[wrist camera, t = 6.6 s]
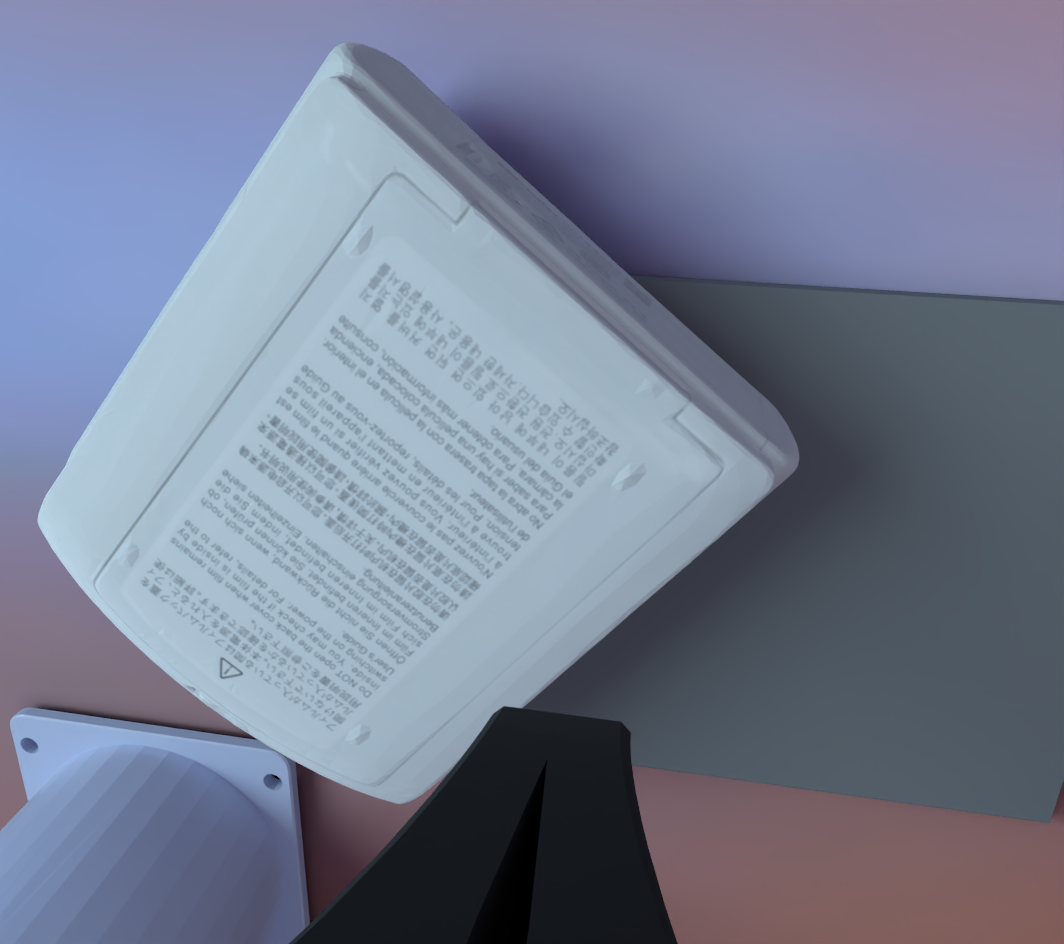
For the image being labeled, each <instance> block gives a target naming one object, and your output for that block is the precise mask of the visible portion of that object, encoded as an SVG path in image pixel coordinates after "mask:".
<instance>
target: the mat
mask: <svg viewBox="0 0 1064 944" xmlns="http://www.w3.org/2000/svg"><path fill="white" fill-rule="evenodd" d="M630 276H631V277H632V278H633V279H634V280H635V281H636V282H637V283H639V284H640V285H641V286H642V287H643V288H644V289H645V290H646V291H647V292H649V293H650V294H651V295H652V296H653V297H654V298H655V299H656V300H657V301H658V302H660V303H661V304H662V305H663V306H664V307H665V308H666V309H667V310H668V311H670V312H671V313H672V314H673V315H674V316H675V317H676V318H677V319H678V320H680V321H681V322H682V323H683V324H684V325H685V326H686V327H687V328H688V329H690V330H691V331H692V332H693V333H694V334H695V335H696V336H697V337H698V338H700V339H701V340H702V341H703V342H704V343H705V344H706V345H707V346H708V347H709V348H711V349H712V350H713V351H714V352H715V353H716V354H717V355H718V356H719V357H721V358H722V359H723V360H724V361H725V362H726V363H727V364H728V365H729V366H731V367H732V368H733V369H734V370H735V371H736V372H737V373H738V374H739V375H741V376H742V377H743V378H744V379H745V380H746V381H747V382H748V383H749V384H751V385H752V386H753V387H754V388H755V389H756V390H757V391H758V392H760V393H761V394H762V395H763V396H764V397H765V398H766V399H767V400H768V401H769V402H770V403H771V404H772V405H773V406H774V407H775V408H776V409H777V410H778V412H779V413H780V414H781V416H782V417H783V419H784V420H785V422H786V423H787V425H788V427H789V429H790V431H791V433H792V435H793V437H794V439H795V441H796V444H797V446H798V451H799V463H798V467H797V468H796V470H795V471H794V472H793V473H792V474H791V475H790V476H789V477H788V478H787V479H786V480H784V481H783V482H782V483H781V484H780V485H779V486H778V487H776V488H775V489H774V490H773V491H772V492H771V493H770V494H768V495H767V496H766V497H765V498H764V499H763V500H762V501H760V502H759V503H758V504H757V505H756V506H755V507H754V508H752V509H751V510H750V511H749V512H748V513H747V514H746V515H744V516H743V517H742V518H741V519H740V520H739V521H738V522H736V523H735V524H734V525H733V526H732V527H731V528H730V529H728V530H727V531H726V532H725V533H724V534H723V535H722V536H720V537H719V538H718V539H717V540H716V541H715V542H714V543H712V544H711V545H710V546H709V547H708V548H707V549H705V550H704V551H703V552H702V553H701V554H700V555H699V556H697V557H696V558H695V559H694V560H693V561H692V562H691V563H690V564H688V565H687V566H686V567H685V568H684V569H682V570H681V571H680V572H679V573H678V574H677V575H675V576H674V577H673V578H672V579H671V580H670V581H668V582H667V583H666V584H665V585H664V586H663V587H661V588H660V589H659V590H658V591H657V592H656V593H655V594H653V595H652V596H651V597H650V598H649V599H648V600H646V601H645V602H644V603H643V604H642V605H641V606H639V607H638V608H637V609H636V610H635V611H634V612H633V613H631V614H630V615H629V616H628V617H627V618H626V619H624V620H623V621H622V622H621V623H620V624H619V625H618V626H617V627H615V628H614V629H613V630H612V631H611V632H610V633H609V634H607V635H606V636H605V637H604V638H603V639H602V640H601V641H599V642H598V643H597V644H596V645H595V646H594V647H592V648H591V649H590V650H589V651H588V652H586V653H585V654H584V655H583V656H582V657H581V658H579V659H578V660H577V661H576V662H575V663H574V664H573V665H572V666H570V667H569V668H568V669H567V670H566V671H564V672H563V673H562V674H561V675H560V676H559V677H558V678H556V679H555V680H554V681H553V682H552V683H551V684H550V685H549V686H547V687H546V688H545V689H544V690H543V691H542V692H541V693H539V694H538V695H537V696H536V697H535V698H534V699H532V700H531V701H530V702H529V703H528V704H527V705H525V706H524V707H523V709H530V710H538V711H545V712H553V713H560V714H568V715H576V716H583V717H591V718H598V719H606V720H613V721H621V722H622V723H623V724H624V725H625V726H626V728H627V729H628V730H629V731H630V732H631V739H630V748H631V763H632V765H635V766H642V767H650V768H657V769H664V770H671V771H678V772H686V773H693V774H700V775H707V776H714V777H722V778H729V779H736V780H743V781H750V782H757V783H765V784H772V785H779V786H786V787H793V788H801V789H808V790H815V791H822V792H829V793H837V794H844V795H851V796H858V797H865V798H872V799H880V800H887V801H894V802H901V803H908V804H916V805H923V806H930V807H937V808H944V809H952V810H959V811H966V812H973V813H980V814H988V815H995V816H1002V817H1009V818H1016V819H1023V820H1031V821H1038V822H1045V823H1050V821H1051V818H1052V815H1053V812H1054V809H1055V806H1056V802H1057V799H1058V796H1059V793H1060V790H1061V787H1062V784H1063V781H1064V301H1053V300H1036V299H1019V298H1003V297H986V296H970V295H953V294H937V293H920V292H904V291H887V290H870V289H854V288H837V287H821V286H804V285H788V284H771V283H755V282H738V281H721V280H705V279H688V278H672V277H655V276H639V275H630Z"/></svg>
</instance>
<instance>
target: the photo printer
mask: <svg viewBox="0 0 1064 944" xmlns="http://www.w3.org/2000/svg"><path fill="white" fill-rule="evenodd" d="M798 463H799V451H798V446H797V444H796V441H795V439H794V437H793V435H792V433H791V431H790V429H789V427H788V425H787V423H786V422H785V420H784V419H783V417H782V416H781V414H780V413H779V412H778V410H777V409H776V408H775V407H774V406H773V405H772V404H771V403H770V402H769V401H768V400H767V399H766V398H765V397H764V396H763V395H762V394H761V393H760V392H758V391H757V390H756V389H755V388H754V387H753V386H752V385H751V384H749V383H748V382H747V381H746V380H745V379H744V378H743V377H742V376H741V375H739V374H738V373H737V372H736V371H735V370H734V369H733V368H732V367H731V366H729V365H728V364H727V363H726V362H725V361H724V360H723V359H722V358H721V357H719V356H718V355H717V354H716V353H715V352H714V351H713V350H712V349H711V348H709V347H708V346H707V345H706V344H705V343H704V342H703V341H702V340H701V339H700V338H698V337H697V336H696V335H695V334H694V333H693V332H692V331H691V330H690V329H688V328H687V327H686V326H685V325H684V324H683V323H682V322H681V321H680V320H678V319H677V318H676V317H675V316H674V315H673V314H672V313H671V312H670V311H668V310H667V309H666V308H665V307H664V306H663V305H662V304H661V303H660V302H658V301H657V300H656V299H655V298H654V297H653V296H652V295H651V294H650V293H649V292H647V291H646V290H645V289H644V288H643V287H642V286H641V285H640V284H639V283H637V282H636V281H635V280H634V279H633V278H632V277H631V276H630V275H629V274H627V273H626V272H625V271H624V270H623V269H622V268H621V267H620V266H619V265H618V264H616V263H615V262H614V261H613V260H612V259H611V258H610V257H609V256H608V255H607V254H606V253H605V252H604V251H603V250H602V249H600V248H599V247H598V246H597V245H596V244H595V243H594V242H593V241H592V240H591V239H590V238H589V237H588V236H587V235H585V234H584V233H583V232H582V231H581V230H580V229H579V228H578V227H577V226H576V225H575V224H574V223H573V222H571V221H570V220H569V219H568V218H567V217H566V216H565V215H564V214H563V213H562V212H560V211H559V210H558V209H557V208H556V207H555V206H554V205H553V204H552V203H551V202H549V201H548V200H547V199H546V198H545V197H544V196H543V195H542V194H541V193H540V192H538V191H537V190H536V189H535V188H534V187H533V186H532V185H531V184H530V183H529V182H528V181H526V180H525V179H524V178H523V177H522V176H521V175H520V174H519V173H518V172H517V171H515V170H514V169H513V168H512V167H511V166H510V165H509V164H508V163H507V162H506V161H505V160H503V159H502V158H501V157H500V156H499V155H498V154H497V153H496V152H495V151H494V150H492V149H491V148H490V147H489V146H488V145H487V144H486V143H485V142H484V141H483V140H482V139H481V138H480V137H479V136H478V135H477V134H476V133H475V132H474V131H473V130H472V129H471V128H470V127H469V126H468V125H467V124H466V123H465V122H464V121H463V120H462V119H460V118H459V117H458V116H457V115H456V114H455V113H454V112H453V111H452V110H451V109H450V108H449V107H448V106H447V105H446V104H445V103H444V102H443V101H442V100H441V99H440V98H438V97H437V96H436V95H435V94H434V93H433V92H432V91H431V90H430V89H429V88H428V87H427V86H426V85H425V84H424V83H423V82H422V81H421V80H420V79H419V78H417V77H416V76H415V75H414V74H413V73H412V72H411V71H410V70H409V69H408V68H407V67H406V66H405V65H403V64H402V63H401V62H399V61H397V60H396V59H394V58H392V57H391V56H389V55H387V54H386V53H383V52H381V51H379V50H377V49H374V48H372V47H368V46H366V45H363V44H359V43H353V42H348V43H342V44H340V45H338V46H336V47H335V48H334V49H333V50H332V51H331V52H330V54H329V55H328V57H327V58H326V60H325V61H324V63H323V64H322V66H321V67H320V69H319V70H318V72H317V73H316V75H315V76H314V78H313V79H312V81H311V82H310V84H309V86H308V87H307V89H306V90H305V92H304V93H303V95H302V96H301V98H300V99H299V101H298V102H297V104H296V105H295V107H294V108H293V110H292V112H291V113H290V115H289V116H288V118H287V119H286V121H285V122H284V124H283V125H282V127H281V128H280V130H279V131H278V133H277V134H276V136H275V138H274V139H273V141H272V142H271V144H270V145H269V147H268V148H267V150H266V151H265V153H264V154H263V156H262V158H261V159H260V161H259V162H258V164H257V165H256V167H255V168H254V170H253V171H252V173H251V174H250V176H249V178H248V179H247V181H246V182H245V184H244V185H243V187H242V188H241V190H240V191H239V193H238V194H237V196H236V197H235V199H234V201H233V202H232V204H231V205H230V207H229V208H228V210H227V211H226V213H225V215H224V216H223V218H222V219H221V221H220V223H219V224H218V226H217V228H216V229H215V231H214V233H213V234H212V236H211V237H210V239H209V240H208V242H207V243H206V245H205V246H204V247H203V249H202V250H201V252H200V253H199V255H198V256H197V258H196V259H195V261H194V262H193V264H192V265H191V267H190V268H189V270H188V271H187V273H186V275H185V276H184V278H183V279H182V281H181V282H180V284H179V285H178V287H177V288H176V290H175V291H174V293H173V295H172V296H171V298H170V299H169V301H168V302H167V304H166V305H165V307H164V308H163V310H162V311H161V313H160V314H159V316H158V318H157V319H156V321H155V322H154V324H153V325H152V327H151V328H150V330H149V332H148V333H147V335H146V336H145V338H144V339H143V341H142V342H141V344H140V345H139V347H138V349H137V350H136V352H135V353H134V355H133V356H132V358H131V359H130V361H129V363H128V364H127V366H126V367H125V369H124V370H123V372H122V373H121V375H120V377H119V378H118V380H117V381H116V383H115V384H114V386H113V387H112V389H111V391H110V392H109V394H108V395H107V397H106V398H105V400H104V402H103V403H102V405H101V406H100V408H99V409H98V411H97V413H96V414H95V416H94V417H93V419H92V420H91V422H90V424H89V425H88V427H87V428H86V430H85V431H84V433H83V434H82V436H81V438H80V439H79V441H78V442H77V444H76V446H75V447H74V449H73V450H72V453H71V455H70V457H69V459H68V462H67V464H66V466H65V468H64V469H63V471H62V472H61V474H60V475H59V477H58V478H57V480H56V481H55V483H54V484H53V486H52V487H51V489H50V490H49V492H48V493H47V495H46V497H45V499H44V501H43V503H42V506H41V509H40V511H39V515H38V524H39V527H40V529H41V530H42V532H43V534H44V536H45V537H46V539H47V541H48V542H49V544H50V546H51V547H52V549H53V551H54V552H55V553H56V555H57V556H58V558H59V559H60V560H61V562H62V563H63V565H64V566H65V567H66V569H67V570H68V572H69V573H70V574H71V575H72V577H73V578H74V579H75V581H76V582H77V583H78V584H79V586H80V587H81V588H82V589H83V591H84V592H85V593H86V594H87V595H88V596H89V598H90V599H91V600H92V601H93V602H94V603H95V604H96V605H97V606H98V607H99V609H100V610H101V611H102V612H103V613H104V614H105V615H106V616H107V617H108V618H109V619H110V620H111V621H112V622H113V623H114V625H115V626H116V627H117V628H118V629H119V630H120V631H121V632H122V633H123V634H125V635H126V636H127V637H128V638H129V639H130V640H131V641H132V642H133V643H134V644H135V645H136V646H137V647H138V648H139V649H140V650H141V651H143V652H144V653H145V654H146V655H147V656H148V657H149V658H150V659H151V660H152V661H154V662H155V663H156V664H157V665H158V666H159V667H160V668H162V669H163V670H164V671H165V672H166V673H167V674H169V675H170V676H171V677H172V678H173V679H174V680H176V681H177V682H178V683H179V684H181V685H182V686H183V687H185V688H186V689H187V690H188V691H190V692H191V693H192V694H193V695H195V696H196V697H197V698H199V699H200V700H201V701H202V702H203V703H205V704H206V705H207V706H208V707H211V708H212V709H213V710H215V711H216V712H217V713H219V714H220V715H222V716H223V717H225V718H226V719H227V720H229V721H230V722H232V723H233V724H234V725H236V726H237V727H239V728H240V729H242V730H244V731H245V732H247V733H248V734H250V735H251V736H253V737H255V738H256V739H258V740H259V741H261V742H263V743H264V744H266V745H267V746H269V747H271V748H272V749H274V750H276V751H278V752H279V753H281V754H283V755H285V756H286V757H288V758H290V759H292V760H293V761H295V762H297V763H299V764H301V765H303V766H305V767H307V768H308V769H310V770H312V771H314V772H316V773H318V774H320V775H322V776H324V777H326V778H329V779H331V780H333V781H335V782H337V783H340V784H342V785H344V786H346V787H349V788H351V789H354V790H357V791H359V792H362V793H365V794H368V795H371V796H374V797H376V798H380V799H383V800H387V801H390V802H393V803H397V804H403V803H407V802H409V801H411V800H413V799H416V798H417V797H419V796H420V795H422V794H424V793H425V792H426V791H427V790H429V789H430V788H431V787H432V786H433V785H435V784H436V783H437V782H438V781H439V780H441V779H442V778H443V777H444V776H445V775H446V774H448V773H449V772H450V771H451V770H452V769H453V767H454V766H455V765H456V764H457V762H458V761H459V760H460V759H461V757H462V756H463V755H464V753H465V752H466V751H467V749H468V748H469V747H470V745H471V744H472V743H473V741H474V740H475V739H476V737H477V736H478V735H479V733H480V732H481V730H482V729H483V728H484V726H485V725H486V723H487V722H488V720H489V719H490V717H491V716H492V714H493V713H495V712H496V711H498V710H499V709H500V708H502V707H503V706H508V707H515V708H523V707H524V706H525V705H527V704H528V703H529V702H530V701H531V700H532V699H534V698H535V697H536V696H537V695H538V694H539V693H541V692H542V691H543V690H544V689H545V688H546V687H547V686H549V685H550V684H551V683H552V682H553V681H554V680H555V679H556V678H558V677H559V676H560V675H561V674H562V673H563V672H564V671H566V670H567V669H568V668H569V667H570V666H572V665H573V664H574V663H575V662H576V661H577V660H578V659H579V658H581V657H582V656H583V655H584V654H585V653H586V652H588V651H589V650H590V649H591V648H592V647H594V646H595V645H596V644H597V643H598V642H599V641H601V640H602V639H603V638H604V637H605V636H606V635H607V634H609V633H610V632H611V631H612V630H613V629H614V628H615V627H617V626H618V625H619V624H620V623H621V622H622V621H623V620H624V619H626V618H627V617H628V616H629V615H630V614H631V613H633V612H634V611H635V610H636V609H637V608H638V607H639V606H641V605H642V604H643V603H644V602H645V601H646V600H648V599H649V598H650V597H651V596H652V595H653V594H655V593H656V592H657V591H658V590H659V589H660V588H661V587H663V586H664V585H665V584H666V583H667V582H668V581H670V580H671V579H672V578H673V577H674V576H675V575H677V574H678V573H679V572H680V571H681V570H682V569H684V568H685V567H686V566H687V565H688V564H690V563H691V562H692V561H693V560H694V559H695V558H696V557H697V556H699V555H700V554H701V553H702V552H703V551H704V550H705V549H707V548H708V547H709V546H710V545H711V544H712V543H714V542H715V541H716V540H717V539H718V538H719V537H720V536H722V535H723V534H724V533H725V532H726V531H727V530H728V529H730V528H731V527H732V526H733V525H734V524H735V523H736V522H738V521H739V520H740V519H741V518H742V517H743V516H744V515H746V514H747V513H748V512H749V511H750V510H751V509H752V508H754V507H755V506H756V505H757V504H758V503H759V502H760V501H762V500H763V499H764V498H765V497H766V496H767V495H768V494H770V493H771V492H772V491H773V490H774V489H775V488H776V487H778V486H779V485H780V484H781V483H782V482H783V481H784V480H786V479H787V478H788V477H789V476H790V475H791V474H792V473H793V472H794V471H795V470H796V468H797V467H798Z"/></svg>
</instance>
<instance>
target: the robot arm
mask: <svg viewBox="0 0 1064 944" xmlns="http://www.w3.org/2000/svg"><path fill="white" fill-rule="evenodd" d="M10 727H11V731H12V736H13V740H14V744H15V748H16V752H17V756H18V761H19V765H20V769H21V773H22V777H23V782H24V786H25V790H26V794H27V798H28V803H27V804H26V805H25V806H24V807H23V808H22V809H21V810H20V811H19V812H18V813H17V814H16V815H15V816H14V817H13V818H12V819H11V820H10V821H9V822H8V823H7V825H6V826H5V827H4V828H3V829H2V830H1V831H0V944H678V943H677V941H676V938H675V935H674V932H673V929H672V926H671V923H670V920H669V917H668V913H667V910H666V907H665V904H664V901H663V897H662V894H661V890H660V887H659V884H658V880H657V877H656V873H655V870H654V866H653V863H652V859H651V856H650V853H649V849H648V845H647V841H646V837H645V833H644V829H643V825H642V821H641V816H640V811H639V806H638V801H637V796H636V791H635V785H634V779H633V771H632V763H631V748H630V739H631V732H630V731H629V730H628V729H627V728H626V726H625V725H624V724H623V723H622V722H621V721H613V720H606V719H598V718H591V717H583V716H576V715H568V714H560V713H553V712H545V711H538V710H530V709H523V708H515V707H508V706H503V707H502V708H500V709H499V710H498V711H496V712H495V713H493V714H492V716H491V717H490V719H489V720H488V722H487V723H486V725H485V726H484V728H483V729H482V730H481V732H480V733H479V735H478V736H477V737H476V739H475V740H474V741H473V743H472V744H471V745H470V747H469V748H468V749H467V751H466V752H465V753H464V755H463V756H462V757H461V759H460V760H459V761H458V762H457V764H456V765H455V766H454V767H453V769H452V770H451V771H450V772H449V774H448V775H447V776H446V777H445V779H444V780H443V781H442V782H441V783H440V785H439V786H438V787H437V788H436V790H435V791H434V792H433V793H432V794H431V796H430V797H429V798H428V799H427V800H426V801H425V802H424V804H423V805H422V806H421V807H420V808H419V809H418V810H417V812H416V813H415V814H414V815H413V816H412V817H411V818H410V820H409V821H408V822H407V823H406V824H405V825H404V826H403V828H402V829H401V830H400V831H399V832H398V833H397V834H396V836H395V837H394V838H393V839H392V840H391V841H390V842H389V844H388V845H387V846H386V847H385V848H384V849H383V850H382V851H381V852H380V853H379V854H378V855H377V856H376V858H375V859H374V860H373V861H372V862H371V863H370V864H369V865H368V866H367V867H366V868H365V869H364V870H363V871H362V872H361V873H360V874H359V875H358V876H357V877H356V878H355V879H354V880H353V881H352V882H351V883H350V884H349V885H348V886H347V887H346V888H345V889H344V890H343V891H342V892H341V893H340V894H339V895H338V896H337V897H336V898H335V899H334V900H333V901H332V902H331V903H330V904H329V905H328V906H327V907H326V908H325V909H324V911H323V912H322V913H321V914H320V915H319V916H317V917H316V918H315V919H314V920H313V921H312V922H311V923H310V918H309V907H308V896H307V885H306V874H305V863H304V852H303V841H302V830H301V819H300V808H299V797H298V786H297V775H296V764H295V761H293V760H292V759H290V758H288V757H286V756H285V755H283V754H281V753H279V752H278V751H276V750H274V749H272V748H271V747H269V746H267V745H266V744H264V743H263V742H261V741H259V740H254V739H247V738H240V737H233V736H226V735H219V734H212V733H205V732H198V731H191V730H184V729H177V728H170V727H163V726H157V725H150V724H143V723H136V722H129V721H122V720H115V719H108V718H101V717H94V716H87V715H80V714H73V713H66V712H59V711H52V710H45V709H38V708H24V709H22V710H20V711H19V712H18V713H17V714H16V715H15V716H14V717H13V718H12V719H11V721H10ZM271 774H273V775H276V776H278V777H279V778H280V779H281V780H279V779H276V778H275V777H273V776H272V775H271Z"/></svg>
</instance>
